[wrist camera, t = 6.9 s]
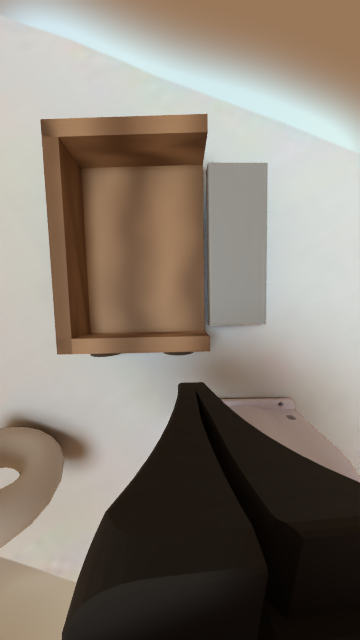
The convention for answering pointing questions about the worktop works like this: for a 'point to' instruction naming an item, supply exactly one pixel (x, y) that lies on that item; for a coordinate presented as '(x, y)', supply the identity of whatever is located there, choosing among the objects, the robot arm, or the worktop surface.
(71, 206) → the box
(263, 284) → the tailgate
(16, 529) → the donut
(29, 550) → the worktop surface
